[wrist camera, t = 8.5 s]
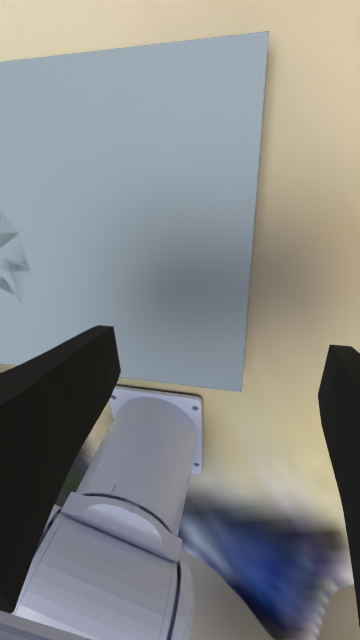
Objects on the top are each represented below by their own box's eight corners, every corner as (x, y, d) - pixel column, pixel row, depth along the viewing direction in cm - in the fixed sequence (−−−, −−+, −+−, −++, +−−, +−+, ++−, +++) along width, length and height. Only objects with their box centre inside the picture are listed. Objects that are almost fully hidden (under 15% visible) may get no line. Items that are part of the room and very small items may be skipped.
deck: (267, 47, 14) (268, 31, 12) (243, 368, 23) (241, 392, 21) (-167, 93, 19) (-220, 87, 17) (-51, 337, 28) (-76, 354, 26)
